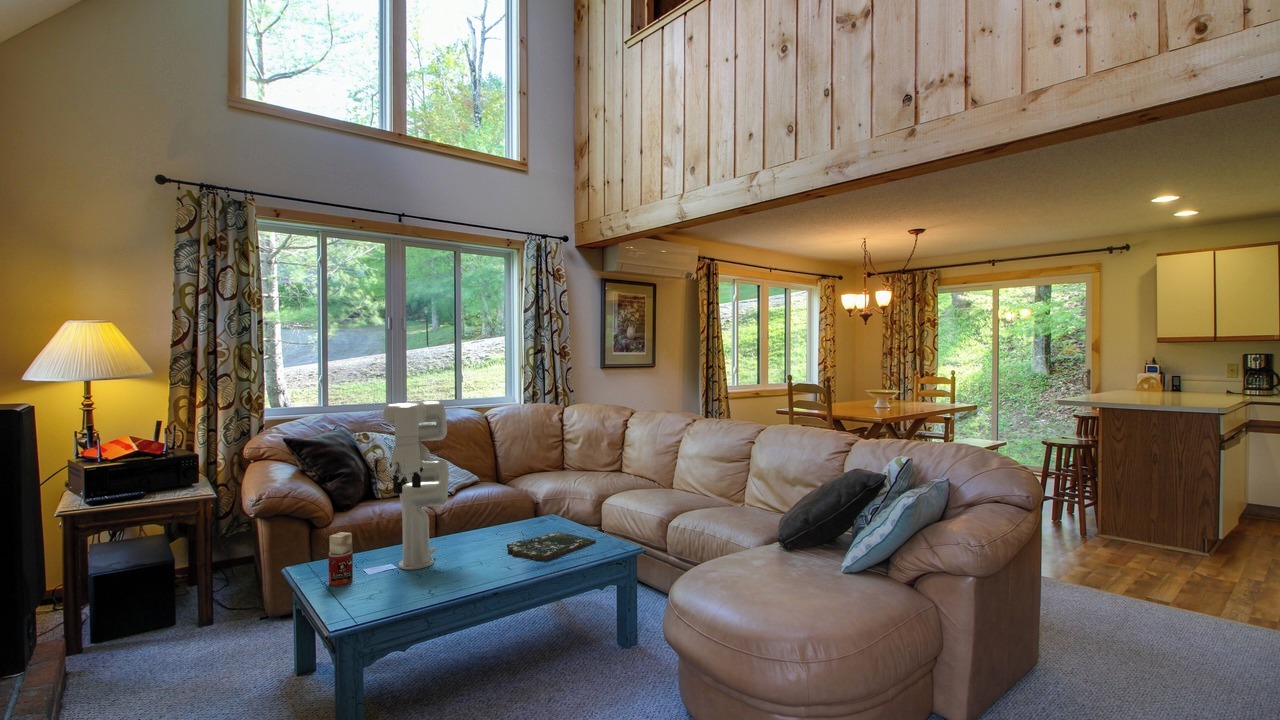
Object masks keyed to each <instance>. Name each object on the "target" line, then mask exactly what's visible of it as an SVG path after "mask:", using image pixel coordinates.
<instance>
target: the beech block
mask: <svg viewBox="0 0 1280 720" xmlns="http://www.w3.org/2000/svg"><path fill="white" fill-rule="evenodd" d="M352 537H353V534H352V533H351V532H345V531H344V532H342V531H341V532H337V533H334V534H331V535H329V552H330V553H333V554H343V553H346V552H348V551H351V550H352V551H353V539H352Z"/></svg>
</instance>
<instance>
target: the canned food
mask: <svg viewBox="0 0 1280 720" xmlns="http://www.w3.org/2000/svg"><path fill="white" fill-rule="evenodd" d="M353 553H354V552H353V549H352V550H351V551H348V552H346V553H343V554H333V553H330V551H329V552H328V583H329V586H332V587H342V586H346V585H349V584H351V583H352V582H353V579H354V576H353V575H354V572H353V571H354V570H353V569H354V564H353V563H354V562H353V560H354V556H353V555H354V554H353Z"/></svg>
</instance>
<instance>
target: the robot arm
mask: <svg viewBox="0 0 1280 720" xmlns="http://www.w3.org/2000/svg"><path fill="white" fill-rule="evenodd" d="M382 416H383V421H384V423H385V424H386V425H388V426H394V446H393V449H392V455H391V468H390V469H389V470H388V474H389V478H390V479H391V482H393V484H392V485H393V488H392V489H393V494H396V495H397V494H398V495H399V501H400V507H401V513H402V515H401V516H402V560H400V561H399V562H398V568H399V569H402V570H408V571H412V570H420V569H424V568H428V567H431V566H432V565H433V564H434V561H435V559H434V558H433V557H432V556H431V555H432V554H434V553H436V551H437V549H436V548H435V547H432V548H430V518H429V517H430V516H429V515H428V513H427V512H426V511H425V510H424V508H427V507H436V506H437V507H439V506H443V505H445V504H446V503H447V501H448V497H449V480H450V479H449V477H450V476H449V475H450V474H449V473H450V472H449V471H450V470H449V464H448V462H447V461H446V460H445V459H442V458H441V459H440V458H439V459H437V458H436V459H433V458H432V459H431V451H430V450H429V448H428V447H426V446H425V445H424V444H423V443H422V442H421V441H423V442H424V441H425V442H426V441H441V440H443V439H445V438H446V436H447V434H448V426H447V415H446V409H445V407H444V404H443V403H442V401H441V402H440V400H439V401H438V400H437V401H436V400H430V401H429V400H428V401H426V400H425V401H408V402H406V401H405V402H400V403H388V404H387V405H385V406H384V409H383V415H382ZM404 476H406V477H405V478H406V481H407V483H405V484H403V481H402V480H403V478H404Z"/></svg>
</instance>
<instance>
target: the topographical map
mask: <svg viewBox="0 0 1280 720" xmlns="http://www.w3.org/2000/svg"><path fill="white" fill-rule="evenodd" d="M595 543H597V542H596V539H593V538H588V537H583V536H580V535H575V534H571V533H565V532H561V531H556V532H552V533H547V534H544V535H540V536H536V537H532V538H528V539H521V540H517V541H515V542H511V543H508V544H506V548H507V555H512V557H513V558H522V559H523V558H524V559H528V560H533V561H534V562H535V561H539V562H544V563H545V562H547V561H551V560H553V559H556V558H558V557H561V556H565V555H566V554H569V553H571V552H572V553H573V552H574V551H577V550H580V549H582V548H584V547H587V546H591V545H592V544H595Z"/></svg>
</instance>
